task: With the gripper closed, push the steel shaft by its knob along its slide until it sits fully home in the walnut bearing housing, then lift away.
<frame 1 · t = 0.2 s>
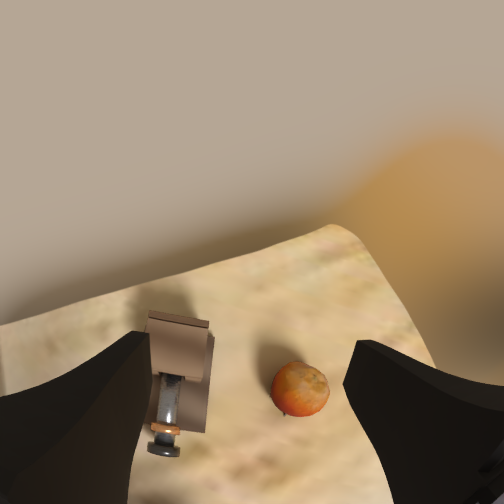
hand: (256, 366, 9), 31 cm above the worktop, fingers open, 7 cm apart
shaft: (167, 409, 29), point 4 cm above the worktop, slide at 4.0 cm
fruit: (291, 392, 37), on the worktop
bearing housing: (173, 379, 34), on the worktop
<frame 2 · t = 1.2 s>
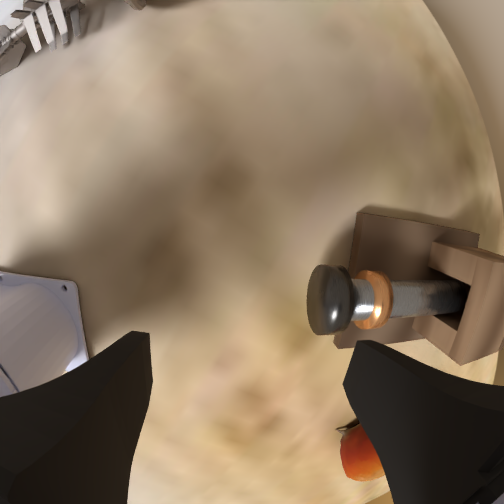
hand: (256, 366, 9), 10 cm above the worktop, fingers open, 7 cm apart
shaft: (401, 298, 16), point 4 cm above the worktop, slide at 4.0 cm
fruit: (363, 426, 24), on the worktop
bearing housing: (416, 282, 20), on the worktop
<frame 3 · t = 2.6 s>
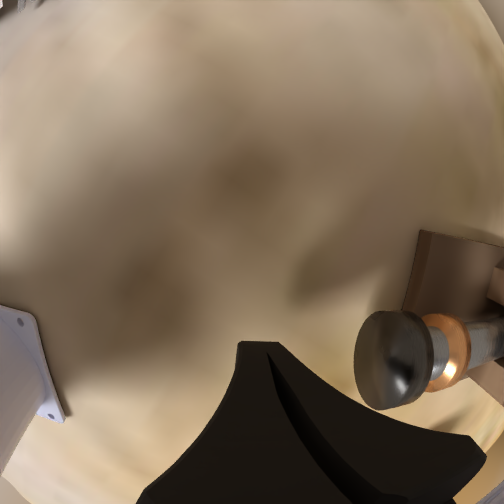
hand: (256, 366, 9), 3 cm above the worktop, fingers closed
shaft: (467, 345, 10), point 3 cm above the worktop, slide at 4.0 cm
bearing housing: (469, 315, 14), on the worktop
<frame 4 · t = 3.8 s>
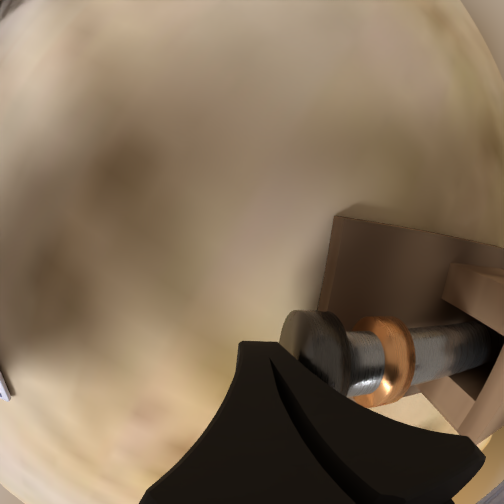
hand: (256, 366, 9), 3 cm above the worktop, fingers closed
shaft: (422, 355, 10), point 3 cm above the worktop, slide at 2.5 cm, touching gripper
bearing housing: (422, 319, 14), on the worktop
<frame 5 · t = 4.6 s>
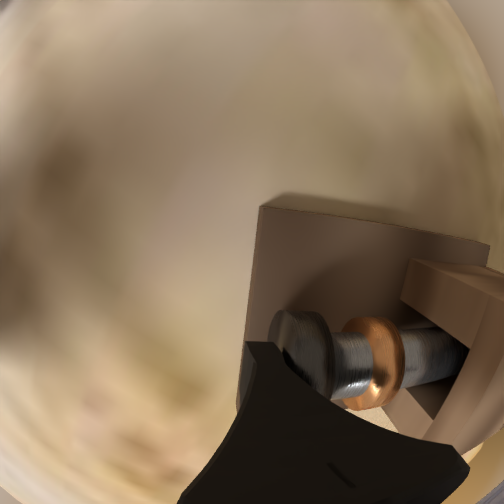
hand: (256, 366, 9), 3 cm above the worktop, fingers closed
shaft: (415, 357, 10), point 4 cm above the worktop, slide at -0.2 cm, touching gripper
bearing housing: (380, 322, 13), on the worktop
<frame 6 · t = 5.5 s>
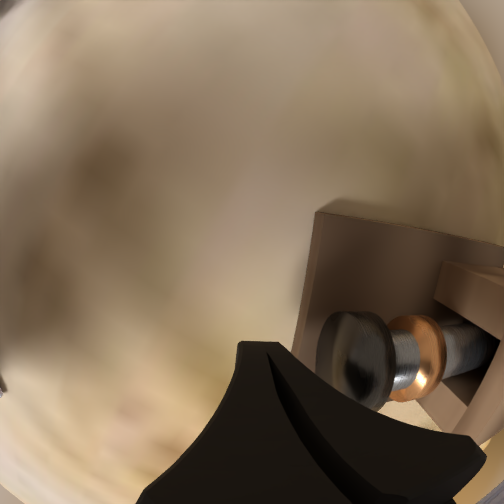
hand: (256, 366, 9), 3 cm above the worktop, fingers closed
shaft: (447, 351, 10), point 3 cm above the worktop, slide at 0.0 cm
bearing housing: (413, 320, 13), on the worktop
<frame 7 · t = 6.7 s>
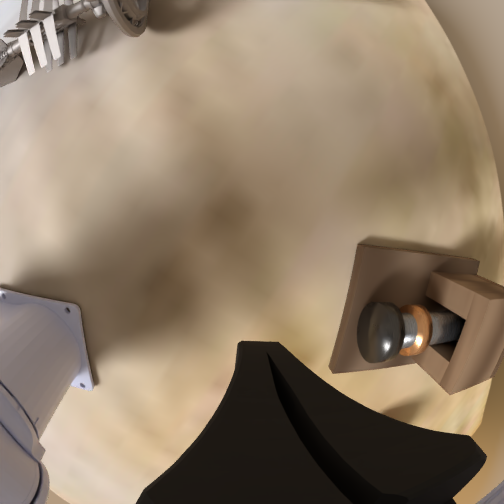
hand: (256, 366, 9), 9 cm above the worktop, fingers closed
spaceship: (142, 16, 13), on the worktop
shaft: (434, 327, 17), point 3 cm above the worktop, slide at 0.0 cm
bearing housing: (413, 310, 20), on the worktop
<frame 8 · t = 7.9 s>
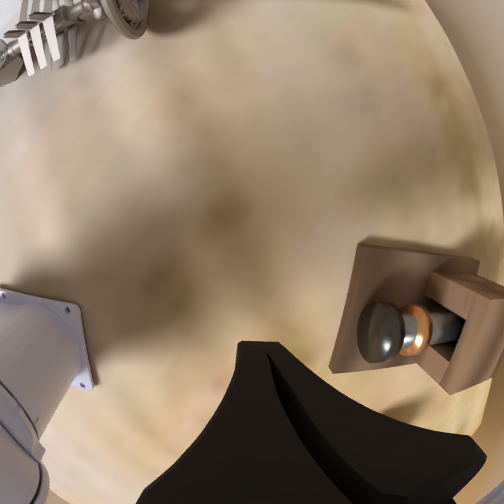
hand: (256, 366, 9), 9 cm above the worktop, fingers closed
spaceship: (142, 18, 13), on the worktop
shaft: (434, 327, 17), point 4 cm above the worktop, slide at 0.0 cm
bearing housing: (413, 310, 20), on the worktop
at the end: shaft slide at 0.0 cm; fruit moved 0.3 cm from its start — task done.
